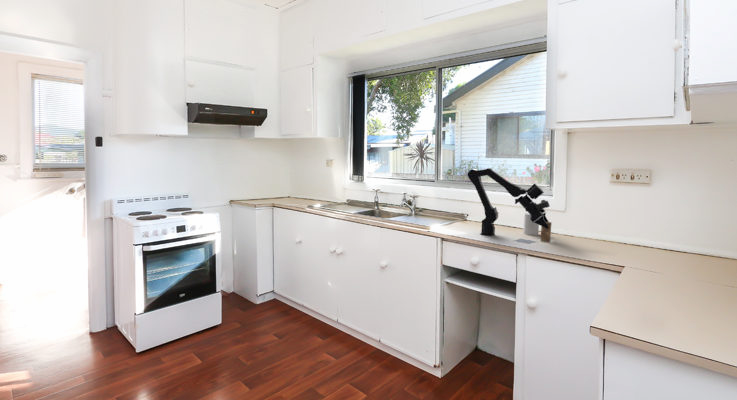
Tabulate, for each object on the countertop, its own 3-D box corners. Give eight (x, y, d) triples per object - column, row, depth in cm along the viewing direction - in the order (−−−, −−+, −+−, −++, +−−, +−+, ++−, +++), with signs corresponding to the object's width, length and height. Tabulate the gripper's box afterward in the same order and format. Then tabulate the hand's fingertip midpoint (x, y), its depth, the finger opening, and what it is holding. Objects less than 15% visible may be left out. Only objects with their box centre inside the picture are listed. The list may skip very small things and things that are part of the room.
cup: (535, 233, 241) (537, 213, 240) (540, 235, 233) (541, 215, 232) (521, 232, 242) (522, 212, 240) (525, 235, 234) (526, 214, 232)
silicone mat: (512, 240, 217) (512, 240, 217) (520, 238, 223) (520, 238, 223) (529, 243, 211) (529, 243, 211) (536, 241, 217) (536, 241, 217)
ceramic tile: (536, 241, 217) (536, 241, 217) (538, 238, 224) (538, 238, 224) (552, 243, 214) (552, 243, 214) (553, 240, 221) (553, 240, 221)
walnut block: (540, 241, 218) (541, 222, 217) (541, 239, 222) (542, 221, 221) (549, 242, 216) (550, 223, 215) (550, 240, 220) (551, 222, 219)
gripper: (538, 196, 210) (560, 219, 206) (542, 193, 226) (562, 215, 222) (521, 210, 214) (542, 233, 211) (526, 206, 231) (545, 227, 227)
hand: (549, 226), depth 218 cm, fingers open, 9 cm apart
